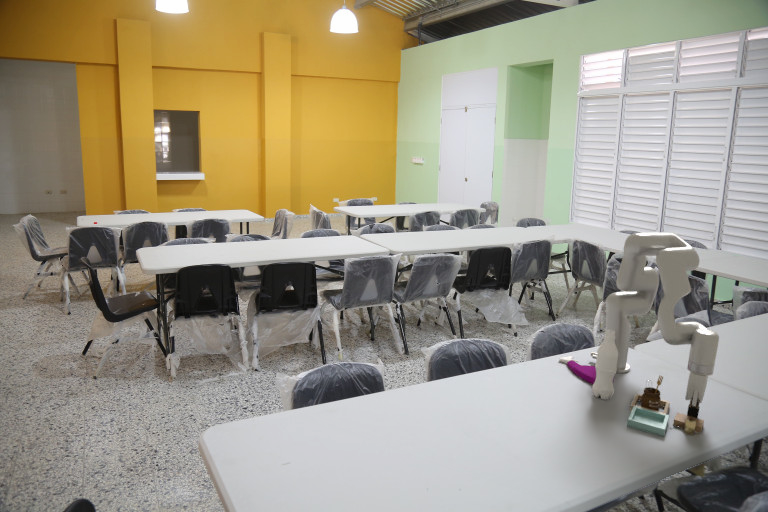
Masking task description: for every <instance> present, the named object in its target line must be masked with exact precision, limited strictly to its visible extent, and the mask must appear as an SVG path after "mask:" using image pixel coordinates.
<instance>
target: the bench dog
mask: <svg viewBox="0 0 768 512" xmlns="http://www.w3.org/2000/svg"><path fill="white" fill-rule="evenodd" d="M695 426H696V422H695V421H694V420H692V419H686V421H685V427H684V428H683V433H685V434H686V435H689V436H694V435H695V433H696V432H695Z"/></svg>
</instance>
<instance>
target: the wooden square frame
mask: <svg viewBox="0 0 768 512" xmlns="http://www.w3.org/2000/svg"><path fill="white" fill-rule="evenodd" d="M642 395H643V394H641V393H635V396H634V398H633V400H632V402H631V405H630V409H629V410H630V412H631V411H632V409H633V407H634V406H636V407H640V408H643V409H647V410H651V411H655V412H659V413H662V414H666V415H668V413H667V412H669V409H670V405H671V401H668V400H664V399H661V400H660V407H663V406H664V407H663V408H664V409H663V411H656V410H652V409H648V408H644V407H641V405H640V406H639V405H637V404H638V402H641V399H642ZM639 400H640V401H639Z"/></svg>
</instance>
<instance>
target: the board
mask: <svg viewBox="0 0 768 512" xmlns="http://www.w3.org/2000/svg"><path fill="white" fill-rule="evenodd" d="M686 419H692V420H694V421H695V422H696V426H695V432H694V433H697V432H698V434H701V433H702V430H703V427H704V423H705V419H701V418H699V417H698V418H695V417H692V416H688V415H687V414H684V413H681V412H676V414H675V417H674V419H673V423H672V426H674V425H675V427H677V426H679V427H678V428H681V427H682V428H681V429H684V427H685V421H686ZM700 432H701V433H700Z"/></svg>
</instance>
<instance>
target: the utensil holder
mask: <svg viewBox="0 0 768 512" xmlns="http://www.w3.org/2000/svg"><path fill="white" fill-rule="evenodd" d="M663 379H664V376H662V375H658V378H657V381H656V384H657V386H656V388H655V387H653V384H654V383H653V382H652V380H646V382H645V383H648V382H650V384H651V385H650V386H648V385H647V384H645V388H644V389H643V393H642V394H641V395H642V399H641V401H640V407H644V408H648V409H652V410H656V411H659V410H660V408H661V406H660V400H662V399H661V390H660V389H659V386H661V385H662V382H663ZM659 412H660V411H659Z"/></svg>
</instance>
